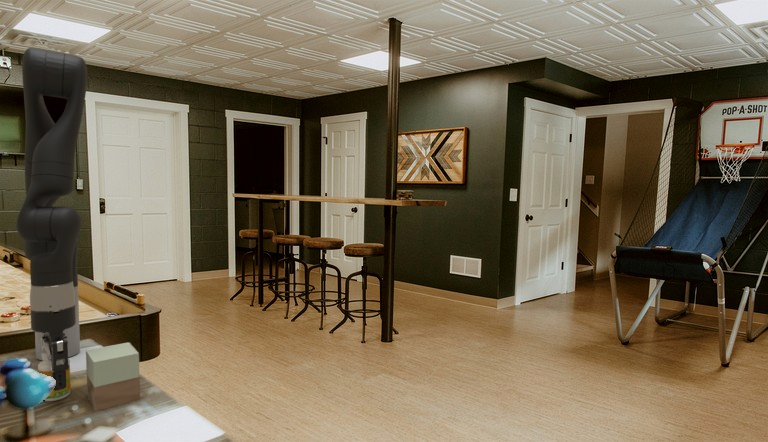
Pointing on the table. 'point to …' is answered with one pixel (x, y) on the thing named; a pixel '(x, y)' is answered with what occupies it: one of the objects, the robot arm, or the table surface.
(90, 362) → the tower top
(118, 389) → the tower base
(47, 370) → the supplement bottle
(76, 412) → the table surface
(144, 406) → the table surface
